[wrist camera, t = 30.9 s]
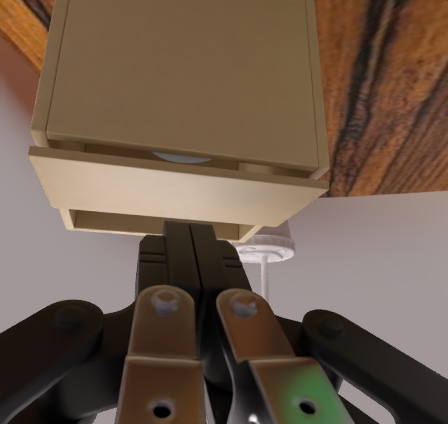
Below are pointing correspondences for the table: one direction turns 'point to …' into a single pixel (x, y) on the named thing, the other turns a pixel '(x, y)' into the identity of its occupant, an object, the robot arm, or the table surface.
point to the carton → (184, 91)
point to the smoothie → (267, 249)
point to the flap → (169, 188)
